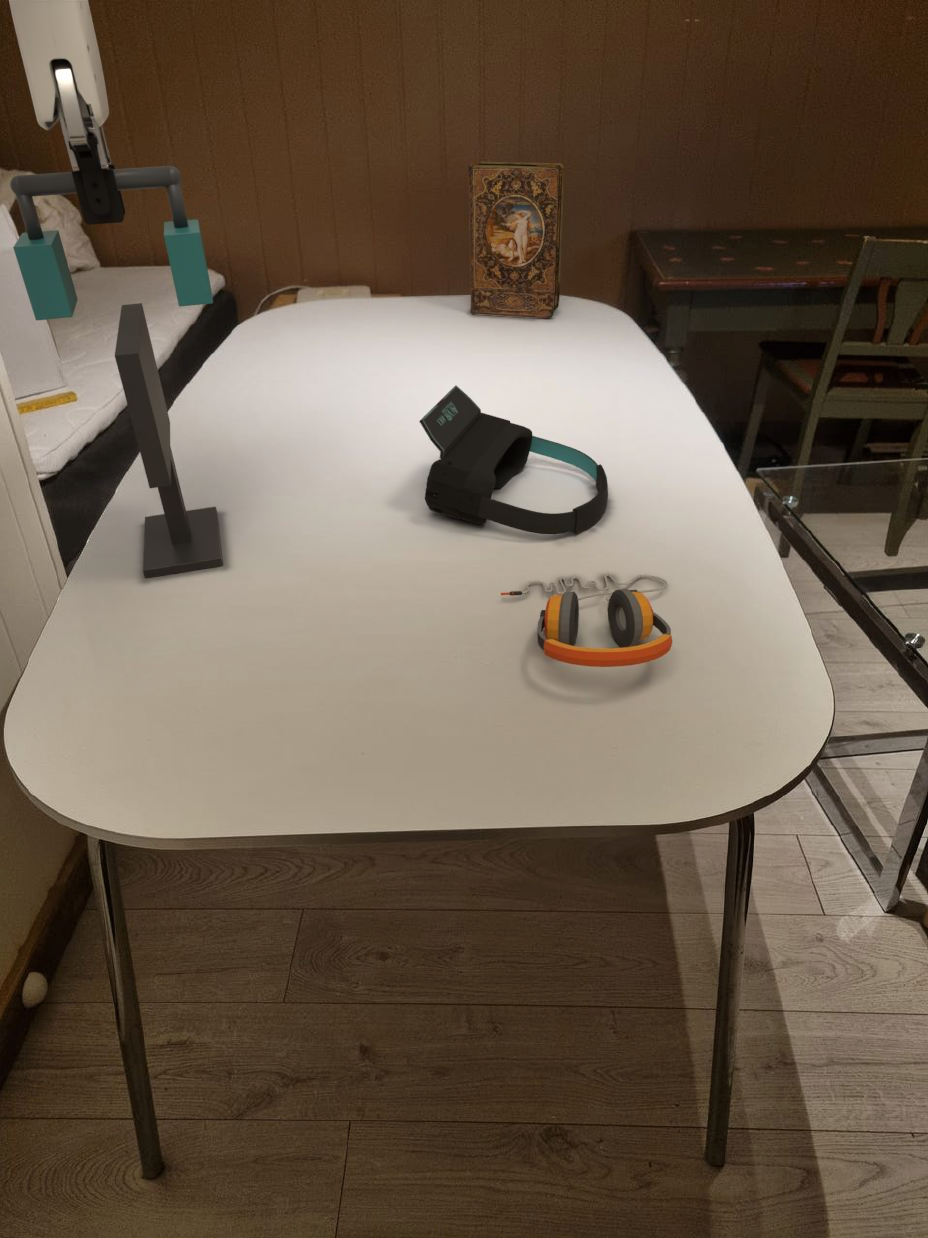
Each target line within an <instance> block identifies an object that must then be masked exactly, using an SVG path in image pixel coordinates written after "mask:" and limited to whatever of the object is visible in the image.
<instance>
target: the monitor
mask: <svg viewBox="0 0 928 1238" xmlns="http://www.w3.org/2000/svg"><path fill="white" fill-rule="evenodd" d="M115 343H116V344H115V349H114V351H115V352H114V359H115V363H116V366H117V370H118V374H119V378H120V382H121V386H122V389H123V392H124V396H125V400H126V404H127V408H128V412H129V415H130V419H131V423H132V426H133V430H134V435H135V438H136V442H137V445H138V450H139V453H140V458H141V461H142V464H143V468H144V472H145V473H144V474H145V476H146V480H147V484H148V488H149V489H156V488H157V490H158V491H157V492H158V494H159V498H160V503H161V506H162V511H163V513H162V514H155V515H148V516H145V517H144V531H143V532H144V535H143V536H144V537H143V560H142V561H143V562H142V563H143V564H142V572H143V575H144V579H148V578H149V579H150V578H156V577H161V576H168V575H174V574H181V573H187V572H192V571H197V570H204V569H205V570H206V569H211V568H212V569H213V568H217V567H223V566H224V563H223V553H222V546H221V545H222V544H221V536H220V526H219V525H220V524H219V517H218V511H217V507H216V506H210V507H202V508H196V509H190V510H187V508H186V504H185V501H184V496H183V492H182V488H181V483H180V480H179V476H178V472H177V468H176V467H177V466H176V464H175V459H174V456H173V455H174V454H173V450H172V447H171V420H170V416H169V412H168V408H167V402H166V399H165V395H164V390H163V387H162V386H163V385H162V383H161V378H160V374H159V370H158V364H157V361H156V357H155V353H154V349H153V344H152V341H151V336H150V332H149V327H148V323H147V320H146V315H145V311H144V306H143V303H142V302H140V303H129V304H121V307H120V314H119V321H118V328H117V335H116V342H115Z"/></svg>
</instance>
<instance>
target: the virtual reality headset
mask: <svg viewBox="0 0 928 1238" xmlns="http://www.w3.org/2000/svg"><path fill="white" fill-rule="evenodd" d="M418 421H419V423H420V425H421V426H422V428H423V430H424V432H425V433H426V435H427V436H428V438H429V440H430V441H431V443H432V444H433V445H434V446H435V447H436V448H437V450H438V451H439V452H440V453H439V459H437V460H435V461H434V462H433V463H432V464H431V466H430V470H429V471H428V474H427V478H426V485H425V493H424V500H425V504H426V506H427V507H428V509H429V511H432V512H435V513H438V514H441V515H444V516H447V517H450V518H454V519H457V520H460V521H462V520H463V521H467V522H470V523H472V524H477V525H485V524H486V523H487V521H490V522H494V523H496V524H499V525H502V526H506V527H509V528H512V529H515V530H519V531H523V532H526V533H532V534H537V535H548V536H549V535H563V534H568V533H569V534H570V533H572V534H574V535H576V534H579V533H581V532H584V531H585V530H587V529H590V528H592V527H593V526H595V524H597V523H598V522H599V521H600V520H601V519H602V518H603V515H604V514H605V513H606V509H607V506H608V498H609V485H608V478H607V474H606V471H605V469H604V467H603V465H602V464H598V463H597V462H596V460H594V459H593V458H592V457H591V456H589V455H588V454H586V452H582V451H581V450H578V449H577V448H575V447H571V446H569V445H565V444H562V443H559V442H555V441H552V440H549V439H546V438H542V437H538V436H536V435H533V431H532V430H531V428H528V427H526V426H523V425H520V424H518V423H513V422H511V420H509V419H506V418H502V417H498V416H495V415H491V414H488V413H484V412H482V409H481V408H480V407H479V405H477V403H476V402H475V401H474V400H473V399H472V398H471V397H470V396H469V395H467V393H465V392H464V391H463V390H462V389H461V388H460V387H459V386H458V385H454V386H453V387H452V388H451V389H450V390H449V391H448V392H447V393H446V394H445V395H444V396H443V397H442V398H441V399H440V400H439V401H438V402H437V403H436V404H435V405H434V406H433V407H431V409H430V410H429V411H428V412H427V413H426V414H425V415H424V416H422V418H421V419H420V420H418ZM530 453H534V454H537V455H540V456H545V457H548V458H550V459H554V460H558V461H560V462H563V463H566V464H569V465H571V466H574V467H576V468H577V469H580V470H582V471H583V472H584V473H586V474H587V475H589V476H590V477H591V478H592V479H593V480H594V481H595V487H596V489H597V491H598V492H597V494H596V495H595V496H593V497H592V498H591V499H590V500H589V501H587V502H585V503H583V504H580V505H578V506H576V507H574V508H572V511H567V512H558V513H557V512H556V513H552V512H551V513H549V512H542V511H541V512H539V511H535V510H531V509H526V508H523V507H520V506H515V505H513V504H508V503H505V502H502V501H499V500H496V499H493V498H492V495H493V492H494V490H495V489H497V490H498V489H502V488H504V486H505V485H506V484H507V483H508V482H509V481H510V480H511V479H512V478H513V477H514V476H515V475H517V474H519V473H520V472H522V471H523V470H524V468H525V467H526V464H527V462H528V459H529V455H530Z"/></svg>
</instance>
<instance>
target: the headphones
mask: <svg viewBox="0 0 928 1238" xmlns="http://www.w3.org/2000/svg"><path fill="white" fill-rule="evenodd" d="M607 577H609V578H610V580H611V581H612V582H613V583H614V584H616V585H618V586H628V585H631V584H633V583H634V582H635V581H636V580H638V579H640V578H653V579H657V580H659V581H661V582H663V583H664V585H663V586H661V587H658V588H652V589H645V590H644V589H641V590H638V589H629V588H619V589H615V590H614V591H608V590H609V589H610V586H609V582H608V578H607ZM603 578H604V582H605V587H604V588H600V587H599V586H598V583H597V581H596V580H588V581H587V582H586V586H584V585H583V584H584V583H583V581H582V579H581V578H580V577H579V576H571V577H570V584H569V583H568V582H567V579H566V578H565V577H560V578H559V579H558V581H559V584H560V586H561V588H562V590H563V591H562V592H560V591H559V587H558V586H557V585H558V584H556V582H553V581H550V582H549V588H550V589H548V588H547V585H546V584H545V582H543V581H540V580H535V581H534V580H533V581H532V580H531V581H529V582H527V583H526V586H525V588H526V590H525V591H521V590H514V591H513V590H511V591H508V592H500V596H512V597H514V596H522V595H526V594H528V593H529V592H530V587H529V586H530V585H531V584H539V585H542V586H543V589H544V592H545V593H552V592H553V591H554V588H555V592H556V593H557V594H554V595H551V596H550V597H549V599H547V602H546V605H545V609H542V610H540V613H539V619H538V622H537V629H536V630H537V631H536V635H537V638H536V639H537V644H538V647H540V649H541V650H542V651H543V653H544V655H545V656H546V657H549V658H550V659H553V660H556V661H558V662H562V663H566V664H569V665H575V666H581V667H593V668H615V667H617V668H618V667H629V666H637V665H642V664H645V663H646V664H647V663H649V662H652V661H656V660H658V659H660V658H662V657H663V656H665V655H666V654H668V653H669V652H670V651H671V648H672V644H673V637H672V631H671V630H672V628H671V627H670V625H669V623H668V622H667V621H665V619H663V618H662V617H661V616H660V615H659V614H657V613H656V612H654V609H653V607H652V606H651V605H652V604H651V603H650V601H649V599H648V598H647V597H646V596H645V594H644V593H652V592H653V593H654V592H657V591H658V592H659V591H663V590H664V589H666V588H667V587H668V581H667V580H666V579H665V578H662V577H659V576H656V575H651V574H639V575H636V576H635V577H634V578H633V579H632V580H630V581H627V582H618V581H617V580H616V579H615V578H614V577H613V576H612V575H611V574H608V573H607V574H605V575H604V576H603ZM574 580H577V581H578V582H579V585H580V587H581V589H582V590H589V588H590V584H594V587H595V589H596V590H597V591H599V593H593V594H589V595H584V596H580V597H578V595H577V593H576V592H575V591H572V590H571V591H570V590H569V591H568V590H567V589H566V587H573V586H574V584H575V583H574ZM553 586H554V587H553ZM565 586H566V587H565ZM604 591H608V592H604ZM599 596H605V600H606V602H608V603H607V621H608V626H609V630H610V632H611V635H612V637H613V638H614V640H615V641H616V642H617V643H618V645H620V646H621V647H614V648H610V647H609V648H600V647H599V648H598V647H597V648H596V647H595V648H594V647H582V646H577V645H576V642H577V638H578V631H579V619H580V604H579V601H582V600H585V599H589V598H593V597H599ZM654 627H655V629H657V630H658V631H659V632H660V633H661V634H662V635H660V636H659V637H658V638H656V639H654V640H652V641H649V642H646V643H642V644H639V642H641V641H643V640H645V639H647V638H649V637H650V635H651V634H652V631H653V628H654ZM543 631H544V634H543Z"/></svg>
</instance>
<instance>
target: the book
mask: <svg viewBox="0 0 928 1238" xmlns="http://www.w3.org/2000/svg"><path fill="white" fill-rule="evenodd" d="M467 166H468V167H467V168H468V169H467V170H468V216H469V218H468V219H469V220H468V221H469V223H468V224H469V225H468V226H469V227H468V228H469V277H470V279H469V280H470V281H469V282H470V286H469V287H470V313H471V314H472V315H474V316H475V315H476V316H492V317H493V316H494V317H507V318H508V317H509V318H521V319H522V318H523V319H551V318H552V317H553V315H554V312H555V311H556V310H558V307H559V305H560V293H561V289H560V288H561V269H562V267H561V265H562V242H563V241H562V238H563V215H564V214H563V212H564V211H563V210H564V189H565V188H564V183H565V167H564V165H563V164H562V163H559V162H558V163H556V162H553V163H552V162H512V161H511V162H510V161H509V162H506V161H505V162H504V161H503V162H502V161H476V162H471V163H469V164H468V165H467Z"/></svg>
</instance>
